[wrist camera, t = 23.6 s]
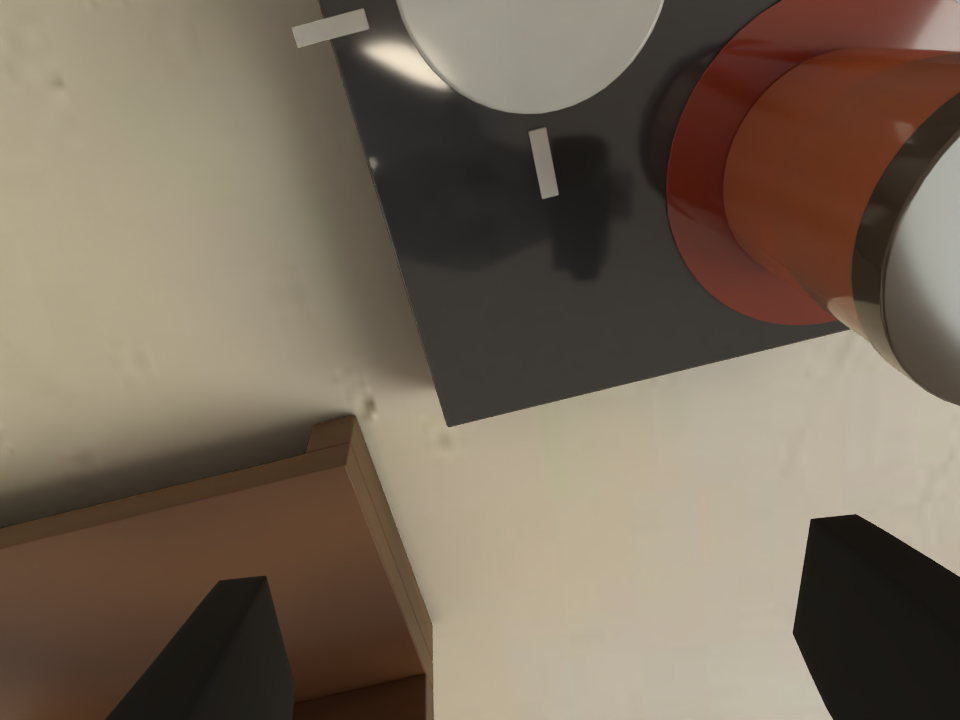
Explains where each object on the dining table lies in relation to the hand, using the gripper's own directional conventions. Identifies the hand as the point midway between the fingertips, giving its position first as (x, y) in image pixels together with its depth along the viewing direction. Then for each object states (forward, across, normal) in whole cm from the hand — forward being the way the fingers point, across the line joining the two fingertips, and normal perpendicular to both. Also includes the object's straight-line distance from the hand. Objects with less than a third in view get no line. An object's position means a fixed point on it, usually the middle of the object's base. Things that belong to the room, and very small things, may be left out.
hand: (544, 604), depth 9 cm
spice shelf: (+10, +10, +7) cm, 15 cm away
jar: (+8, -8, -4) cm, 11 cm away
